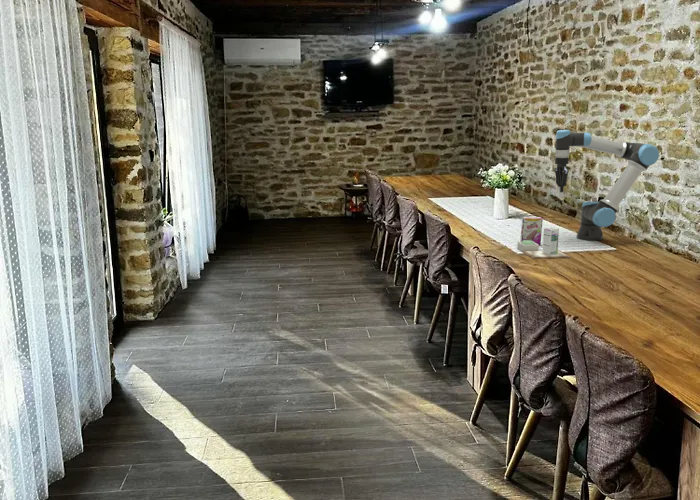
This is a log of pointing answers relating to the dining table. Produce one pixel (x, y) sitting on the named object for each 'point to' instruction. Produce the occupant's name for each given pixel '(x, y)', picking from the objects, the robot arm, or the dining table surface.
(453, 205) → the dining table surface
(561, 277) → the dining table surface
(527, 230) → the candy bar box
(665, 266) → the dining table surface
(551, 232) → the syrup box
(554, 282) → the dining table surface
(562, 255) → the drawing board
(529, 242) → the button
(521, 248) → the button housing
